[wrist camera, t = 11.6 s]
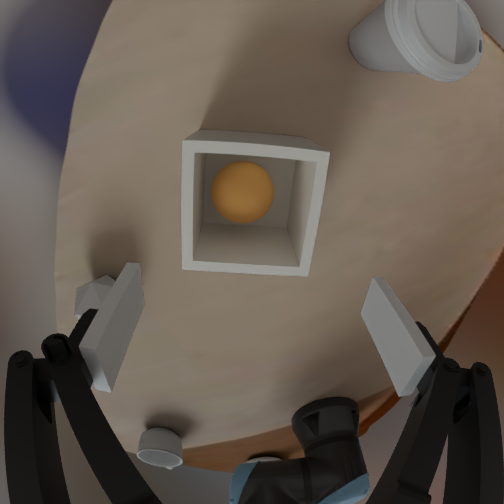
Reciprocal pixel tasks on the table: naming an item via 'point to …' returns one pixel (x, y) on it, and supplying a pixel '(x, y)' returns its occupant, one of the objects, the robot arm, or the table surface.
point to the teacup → (160, 448)
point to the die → (92, 294)
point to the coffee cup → (419, 39)
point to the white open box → (269, 225)
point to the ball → (242, 192)
